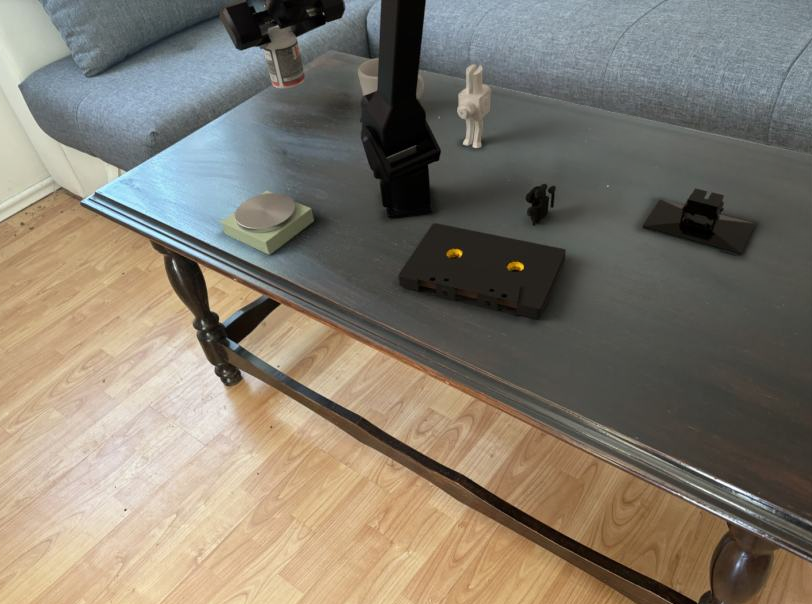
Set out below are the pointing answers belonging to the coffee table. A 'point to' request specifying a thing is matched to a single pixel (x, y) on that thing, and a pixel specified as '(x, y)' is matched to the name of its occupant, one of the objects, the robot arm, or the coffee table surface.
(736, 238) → the build plate
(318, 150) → the coffee table surface
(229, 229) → the scale
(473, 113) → the toy robot
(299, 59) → the pill bottle
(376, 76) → the cup
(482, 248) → the cassette tape
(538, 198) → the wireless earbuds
